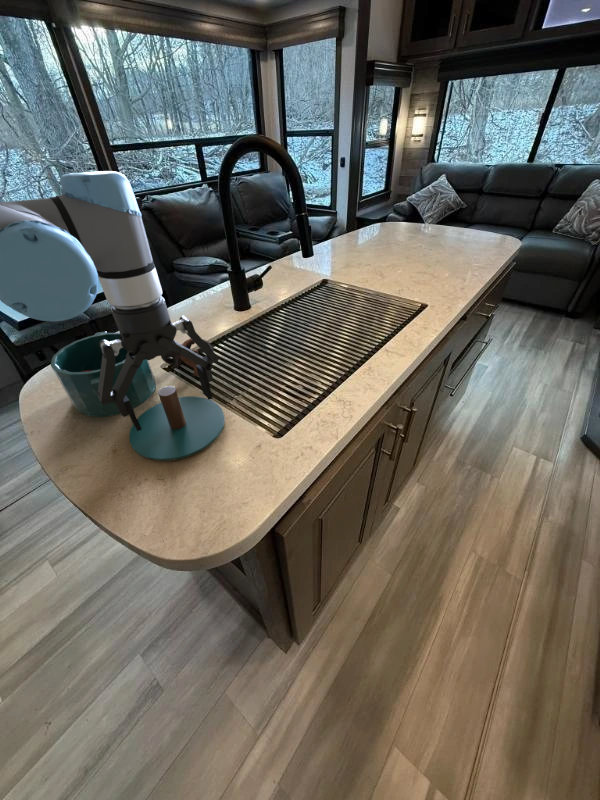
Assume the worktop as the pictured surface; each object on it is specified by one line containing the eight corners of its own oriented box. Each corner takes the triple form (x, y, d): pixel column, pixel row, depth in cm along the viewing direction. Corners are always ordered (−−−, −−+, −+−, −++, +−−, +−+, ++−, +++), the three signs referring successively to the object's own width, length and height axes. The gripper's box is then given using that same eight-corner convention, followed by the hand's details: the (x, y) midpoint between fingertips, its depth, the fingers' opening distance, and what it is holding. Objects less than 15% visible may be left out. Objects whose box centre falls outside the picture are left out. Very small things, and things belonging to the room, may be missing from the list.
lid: (133, 476, 55) (113, 437, 50) (129, 414, 68) (112, 377, 62) (235, 444, 61) (228, 405, 55) (214, 391, 73) (206, 356, 68)
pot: (70, 435, 63) (43, 391, 57) (78, 376, 79) (57, 336, 73) (161, 411, 69) (145, 368, 62) (151, 360, 84) (138, 322, 78)
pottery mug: (207, 353, 87) (213, 333, 81) (214, 384, 84) (220, 366, 77) (158, 354, 82) (160, 332, 75) (163, 386, 78) (165, 367, 71)
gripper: (204, 274, 57) (224, 376, 70) (34, 315, 45) (97, 429, 58) (225, 286, 52) (242, 393, 65) (41, 335, 40) (108, 454, 53)
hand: (174, 410), depth 62 cm, fingers open, 13 cm apart
